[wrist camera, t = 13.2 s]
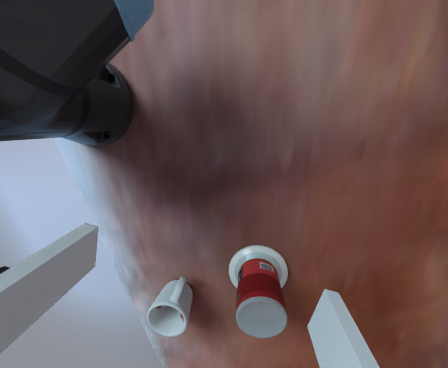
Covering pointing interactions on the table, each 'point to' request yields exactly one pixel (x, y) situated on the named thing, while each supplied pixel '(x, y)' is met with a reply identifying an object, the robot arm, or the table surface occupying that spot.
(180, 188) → the table surface
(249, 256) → the plate
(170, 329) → the cup
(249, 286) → the canned food
